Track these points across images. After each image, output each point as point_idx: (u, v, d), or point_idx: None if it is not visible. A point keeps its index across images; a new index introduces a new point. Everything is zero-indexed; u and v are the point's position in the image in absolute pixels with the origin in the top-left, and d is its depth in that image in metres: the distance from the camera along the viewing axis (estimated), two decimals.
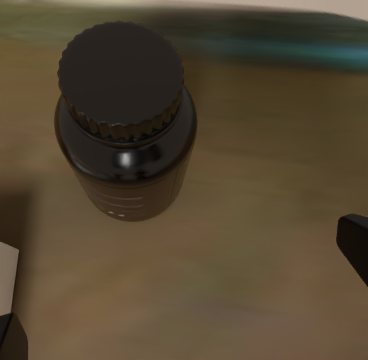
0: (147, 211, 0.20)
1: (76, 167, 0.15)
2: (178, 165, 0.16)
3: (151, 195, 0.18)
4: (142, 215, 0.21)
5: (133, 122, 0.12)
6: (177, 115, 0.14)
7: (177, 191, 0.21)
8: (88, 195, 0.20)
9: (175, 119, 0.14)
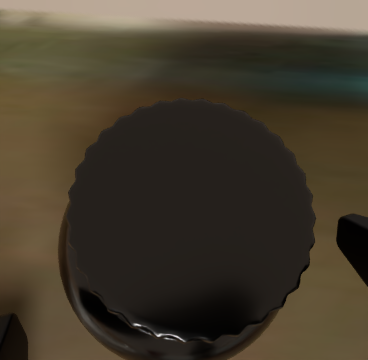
0: None
1: (96, 339, 0.09)
2: None
3: None
4: None
5: (227, 330, 0.06)
6: None
7: None
8: None
9: None
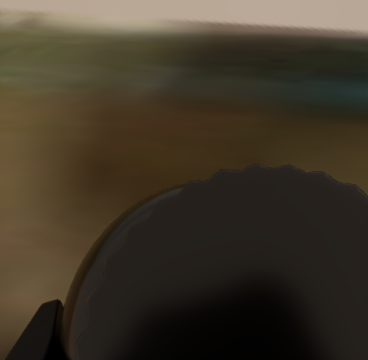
0: None
1: None
2: None
3: None
4: None
5: None
6: None
7: None
8: None
9: None
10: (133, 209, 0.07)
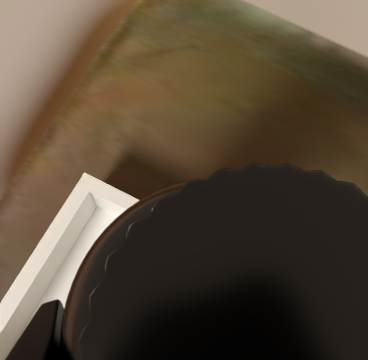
0: None
1: None
2: None
3: None
4: None
5: None
6: None
7: None
8: None
9: None
10: (134, 207, 0.07)
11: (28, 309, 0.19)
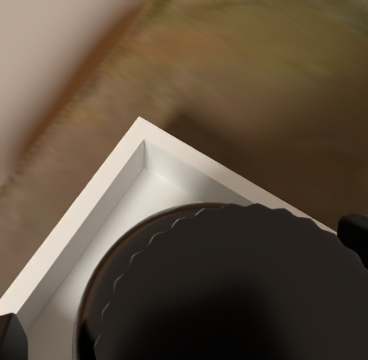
0: None
1: None
2: None
3: None
4: None
5: None
6: None
7: None
8: None
9: None
10: (134, 229, 0.09)
11: (58, 277, 0.15)
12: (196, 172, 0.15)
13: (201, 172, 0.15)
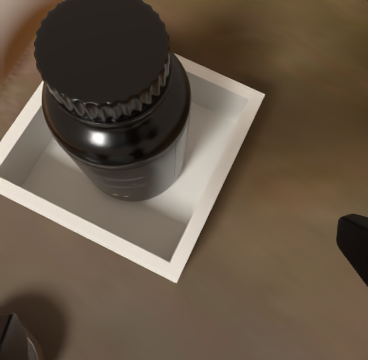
0: (151, 189, 0.20)
1: (70, 153, 0.15)
2: (176, 139, 0.15)
3: (152, 173, 0.17)
4: (147, 194, 0.21)
5: (120, 99, 0.11)
6: (167, 86, 0.13)
7: (180, 166, 0.21)
8: None
9: (166, 91, 0.13)
10: None
11: (46, 129, 0.22)
12: None
13: None
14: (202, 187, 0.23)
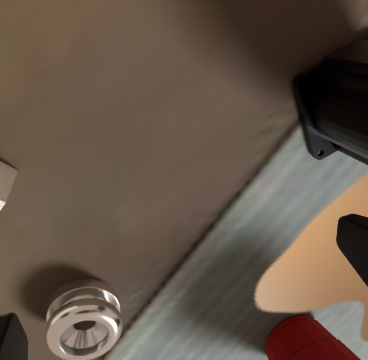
0: None
1: None
2: None
3: None
4: None
5: None
6: None
7: None
8: None
9: None
10: None
11: None
12: None
13: None
14: None
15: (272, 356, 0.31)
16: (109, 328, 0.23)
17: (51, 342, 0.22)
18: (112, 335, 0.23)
